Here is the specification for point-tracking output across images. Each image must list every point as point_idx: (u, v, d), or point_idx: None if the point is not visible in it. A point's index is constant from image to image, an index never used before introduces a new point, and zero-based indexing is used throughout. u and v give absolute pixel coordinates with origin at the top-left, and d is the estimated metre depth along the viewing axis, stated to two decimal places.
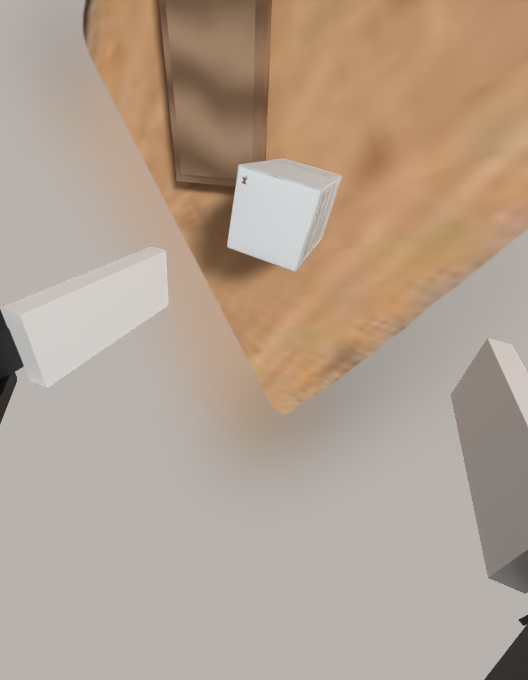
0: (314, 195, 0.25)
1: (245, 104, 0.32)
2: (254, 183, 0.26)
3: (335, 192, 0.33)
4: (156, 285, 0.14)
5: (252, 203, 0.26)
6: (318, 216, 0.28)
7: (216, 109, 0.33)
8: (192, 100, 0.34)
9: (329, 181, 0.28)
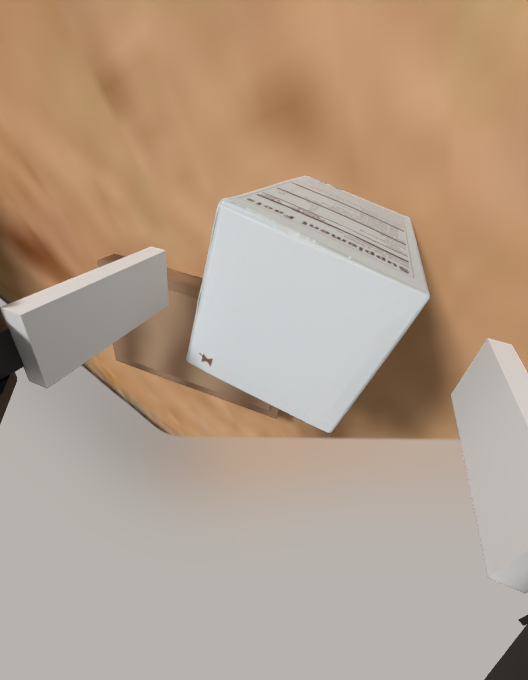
0: (230, 216, 0.10)
1: None
2: (210, 343, 0.13)
3: (320, 184, 0.18)
4: (156, 285, 0.14)
5: (244, 358, 0.12)
6: (313, 214, 0.12)
7: None
8: None
9: None
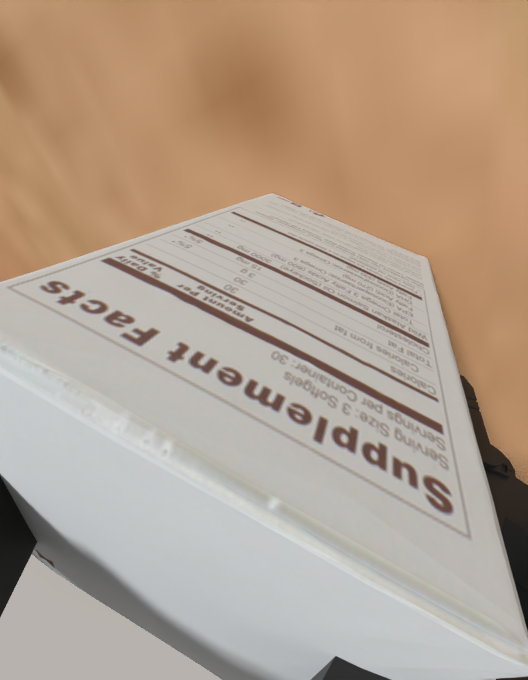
0: None
1: None
2: (38, 543, 0.06)
3: (289, 210, 0.12)
4: None
5: (99, 583, 0.06)
6: (232, 299, 0.05)
7: None
8: None
9: None
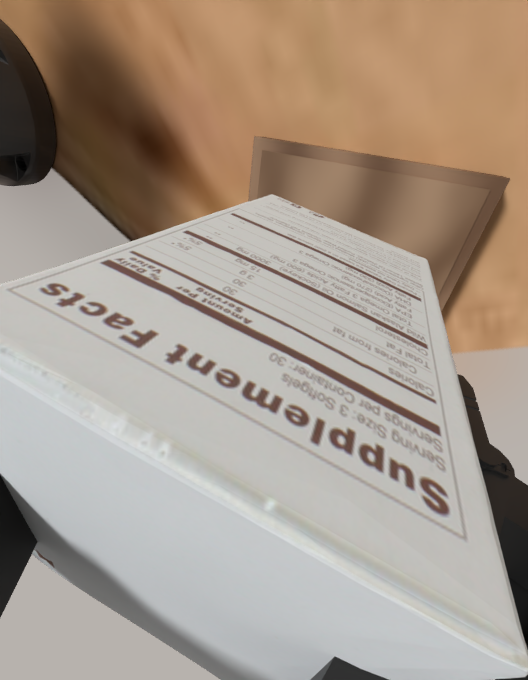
0: None
1: (379, 184, 0.23)
2: (38, 543, 0.06)
3: (289, 211, 0.12)
4: None
5: (98, 583, 0.06)
6: (231, 301, 0.05)
7: (371, 232, 0.25)
8: None
9: None
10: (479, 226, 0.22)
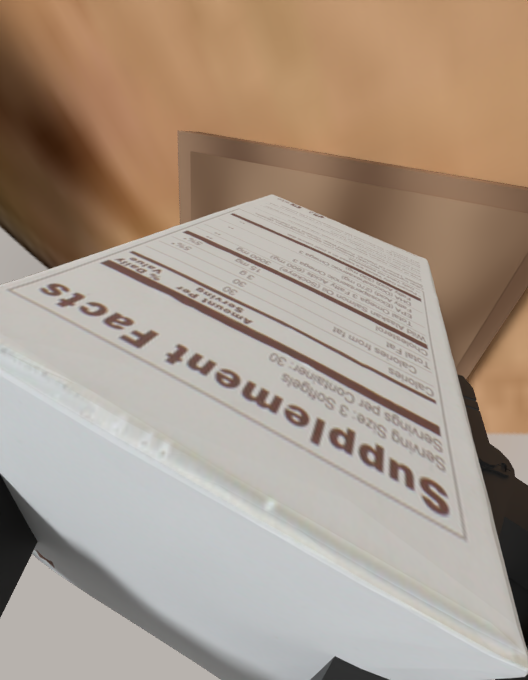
0: None
1: (367, 205, 0.14)
2: (38, 543, 0.06)
3: (289, 211, 0.12)
4: None
5: (98, 583, 0.06)
6: (231, 301, 0.05)
7: None
8: None
9: None
10: (526, 273, 0.14)
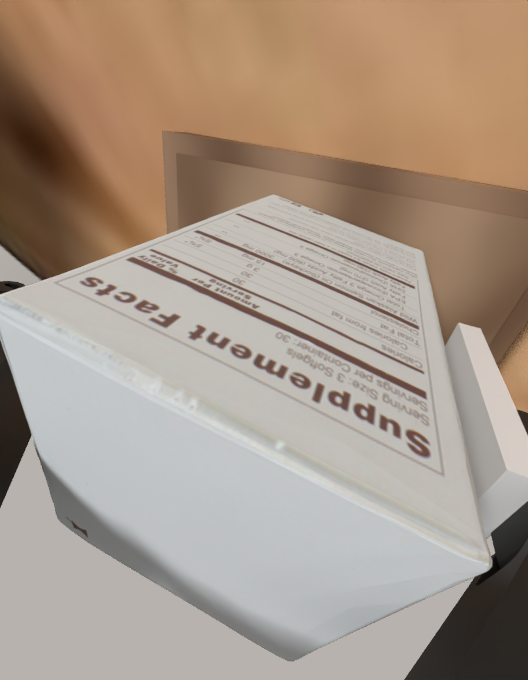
0: (16, 334, 0.04)
1: (366, 212, 0.13)
2: (74, 512, 0.07)
3: (290, 210, 0.12)
4: None
5: (129, 545, 0.07)
6: (240, 290, 0.06)
7: None
8: None
9: None
10: None
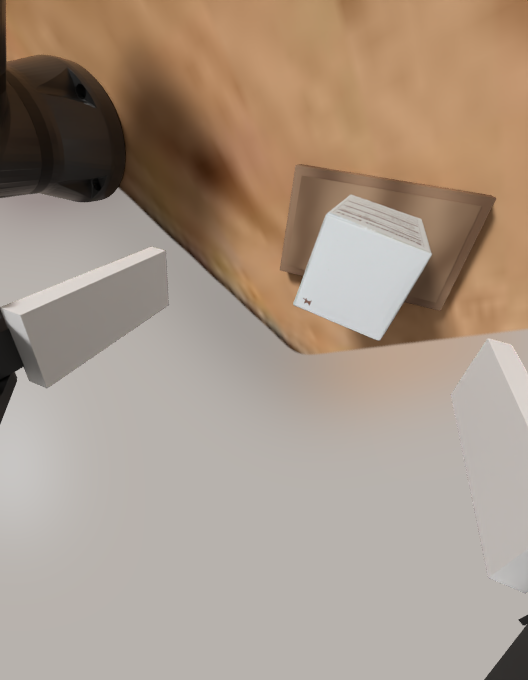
0: (331, 220, 0.20)
1: (395, 202, 0.29)
2: (311, 291, 0.23)
3: (363, 200, 0.28)
4: (156, 285, 0.14)
5: (331, 298, 0.23)
6: (368, 218, 0.22)
7: None
8: None
9: None
10: (473, 234, 0.28)
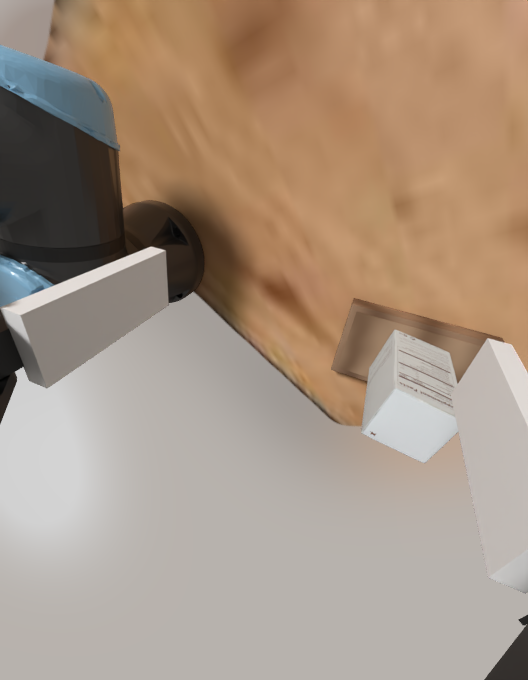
0: (398, 393, 0.29)
1: (429, 338, 0.38)
2: (377, 428, 0.32)
3: (406, 341, 0.37)
4: (156, 285, 0.14)
5: (391, 435, 0.32)
6: (419, 381, 0.31)
7: None
8: None
9: (393, 360, 0.34)
10: None
